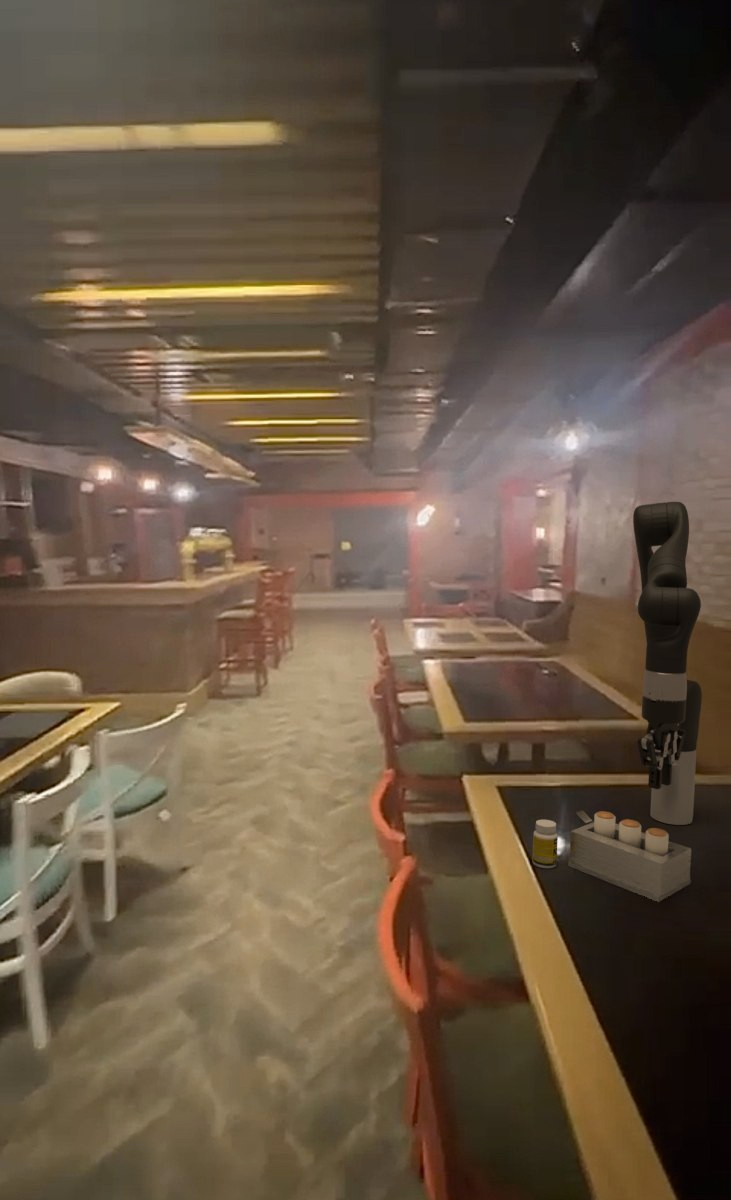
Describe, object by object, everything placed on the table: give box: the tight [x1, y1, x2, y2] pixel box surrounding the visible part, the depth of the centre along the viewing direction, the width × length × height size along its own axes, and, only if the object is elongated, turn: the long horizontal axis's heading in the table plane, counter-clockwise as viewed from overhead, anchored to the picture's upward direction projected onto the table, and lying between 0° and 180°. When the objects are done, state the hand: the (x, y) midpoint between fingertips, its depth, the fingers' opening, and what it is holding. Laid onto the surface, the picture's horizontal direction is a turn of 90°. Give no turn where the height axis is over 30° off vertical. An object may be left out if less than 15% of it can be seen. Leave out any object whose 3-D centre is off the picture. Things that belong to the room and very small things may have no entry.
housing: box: [567, 821, 692, 903], centre depth 143 cm, size 12×19×7 cm, turn 40°
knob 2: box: [618, 819, 642, 849], centre depth 143 cm, size 4×4×6 cm
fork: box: [576, 810, 594, 824], centre depth 167 cm, size 3×16×2 cm, turn 38°
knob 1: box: [593, 810, 617, 840], centre depth 147 cm, size 4×4×6 cm
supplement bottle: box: [531, 819, 559, 869], centre depth 148 cm, size 5×5×8 cm
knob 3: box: [645, 827, 670, 857], centre depth 139 cm, size 4×4×6 cm
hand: (659, 785), depth 138 cm, fingers open, 3 cm apart
